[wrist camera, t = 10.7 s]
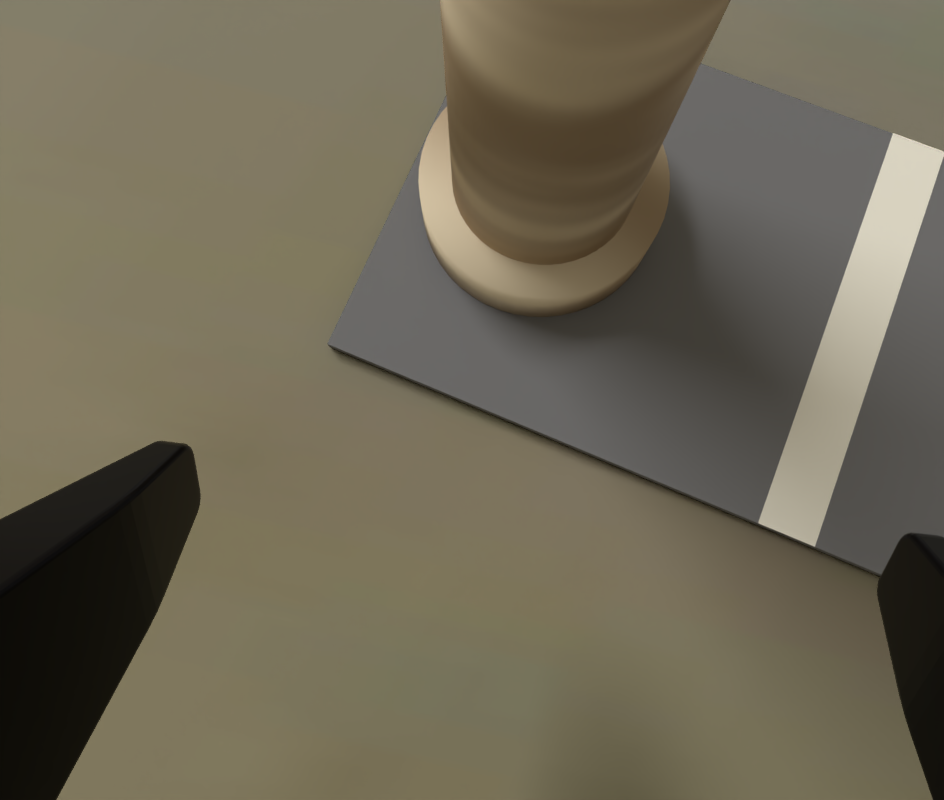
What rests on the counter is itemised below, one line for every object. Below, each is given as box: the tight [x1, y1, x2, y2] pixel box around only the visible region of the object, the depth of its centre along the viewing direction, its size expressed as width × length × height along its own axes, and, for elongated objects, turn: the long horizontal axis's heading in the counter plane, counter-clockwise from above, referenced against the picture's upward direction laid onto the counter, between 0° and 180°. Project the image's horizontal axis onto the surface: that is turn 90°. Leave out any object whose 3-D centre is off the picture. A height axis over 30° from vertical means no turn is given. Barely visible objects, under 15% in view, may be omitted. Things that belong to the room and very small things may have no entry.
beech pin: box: [418, 0, 730, 317], centre depth 12 cm, size 6×6×14 cm
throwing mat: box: [328, 63, 944, 576], centre depth 18 cm, size 24×11×1 cm, turn 67°
